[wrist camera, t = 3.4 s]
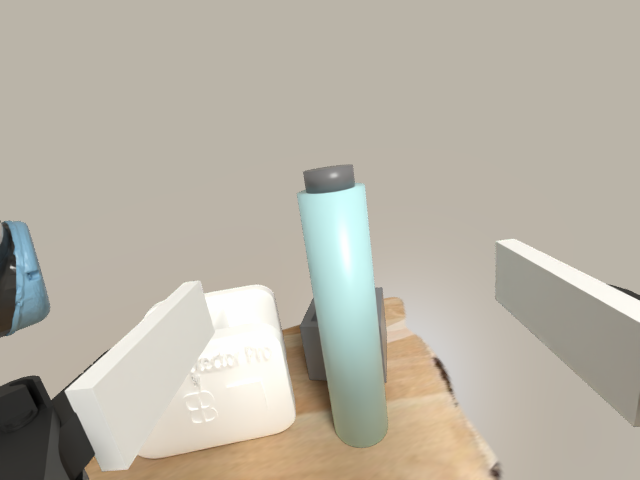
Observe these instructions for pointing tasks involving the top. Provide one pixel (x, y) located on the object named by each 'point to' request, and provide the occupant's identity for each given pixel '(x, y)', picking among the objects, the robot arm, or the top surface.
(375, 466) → the top surface
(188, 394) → the white piece
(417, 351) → the top surface
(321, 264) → the teal bottle
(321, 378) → the block
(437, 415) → the top surface
